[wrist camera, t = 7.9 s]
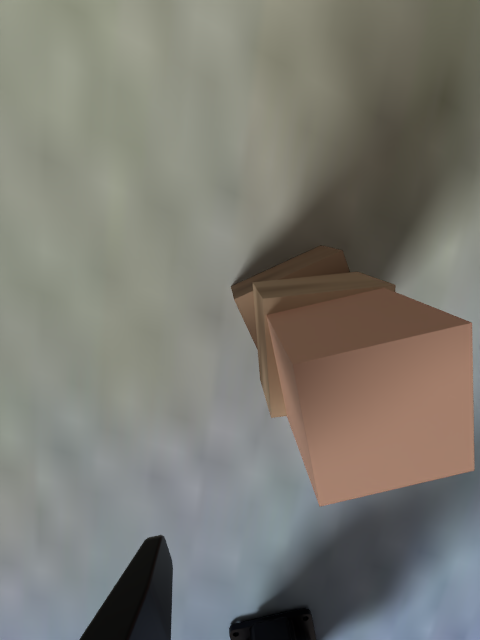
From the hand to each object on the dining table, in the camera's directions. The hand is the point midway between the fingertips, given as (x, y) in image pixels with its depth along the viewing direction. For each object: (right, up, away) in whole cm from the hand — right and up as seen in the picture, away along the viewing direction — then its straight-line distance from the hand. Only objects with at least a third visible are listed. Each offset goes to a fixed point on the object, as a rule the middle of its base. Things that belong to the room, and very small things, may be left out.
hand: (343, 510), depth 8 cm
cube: (+1, +3, +5) cm, 6 cm away
